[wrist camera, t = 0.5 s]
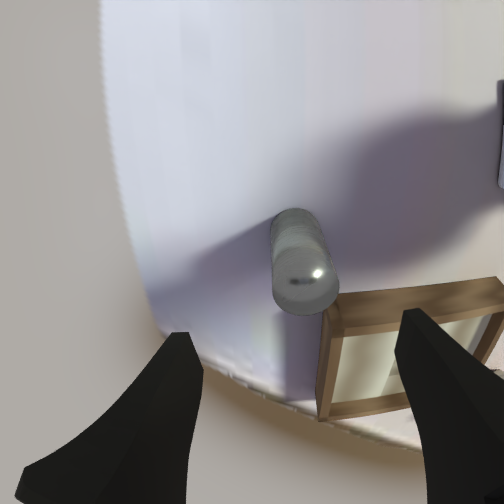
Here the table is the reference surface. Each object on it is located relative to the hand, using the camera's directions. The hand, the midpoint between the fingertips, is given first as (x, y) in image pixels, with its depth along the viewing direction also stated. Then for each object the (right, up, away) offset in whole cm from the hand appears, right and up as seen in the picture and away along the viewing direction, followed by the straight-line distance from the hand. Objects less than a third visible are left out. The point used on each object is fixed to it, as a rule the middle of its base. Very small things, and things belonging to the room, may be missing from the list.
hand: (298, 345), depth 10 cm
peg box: (+12, -5, +13) cm, 19 cm away
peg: (+1, +4, +9) cm, 10 cm away
